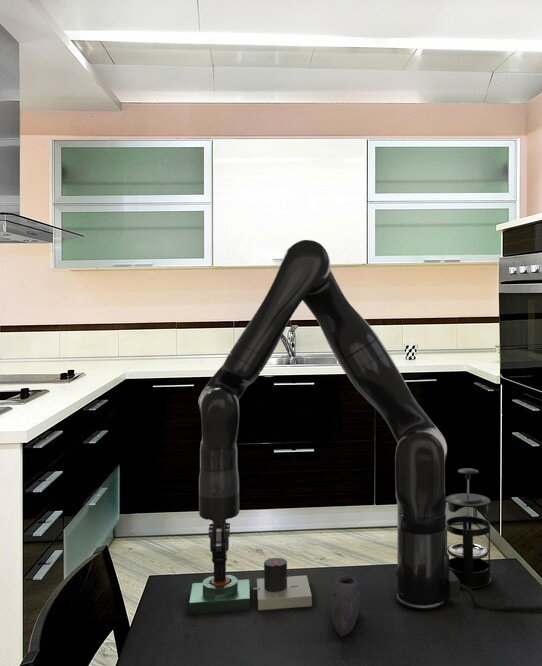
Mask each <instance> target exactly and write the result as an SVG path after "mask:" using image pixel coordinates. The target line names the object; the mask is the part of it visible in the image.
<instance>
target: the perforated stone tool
mask: <svg viewBox="0 0 542 666" xmlns="http://www.w3.org/2000/svg"><path fill="white" fill-rule="evenodd" d="M359 587H360V583H359V580H358V577H357V576H356V574H355V573H354V572H351V571H346V570H345V571H341V572H339V574H338V575H337V577H336V579H335V581H334V584H333V587H332V591H331V595H330V616H331V621H332V624H333V627H334V629H335V631H336V633H337V634H338V635H339V636H340V637H345V636H347V635H348V634H350V632H351V631H352V630H353V629H354V626H355V624H356V622H357V619H358V616H359V611H360V602H361V593H360V591H359V589H360V588H359Z"/></svg>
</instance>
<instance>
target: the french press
mask: <svg viewBox="0 0 542 666" xmlns="http://www.w3.org/2000/svg"><path fill="white" fill-rule="evenodd" d="M457 473H459V474H462V475H465V480H466V493H465V492H464V493H463V492H462V493H454V494H453V493H452V494H450V495H448V496H445V498H446V503H447V510H448V511H449V512H451V513H456V512H458V511H459V510H461V509H464V508H466V514H462V515H459V516H453V517H449V518H446V552H447V553H448V554H449V556H452V557H451V558H449V570H451V571H452V572H453V573H454V574H455V576H456V577H457V578H458V579H459V581H460V584H463V585H465V586H467V587H468V588H470V589H471V590H472V591H474V590H481V589H485V588H487V587H488V586H490V585H491V583H492V578H491V523H490V521H489V520H487V519H486V518H483V517H478V516H472V515H471V514H470V508H473V509H475V510H476V511H477V512H480V513H481V514H487V513H488V512H489V504H490V503H491V499H490V498H489V497H488V496H485V495H483V494H482V495H481V494H477V493H470V480H471V475H477V474H478V473H479V470H477V469H475V468H469V467H467V468H466V467H465V468H460V469H458V470H457ZM460 523H462V528H459V527H454V526H452V525H453V524H460ZM472 524H477V525H481V526H484V527H483V528H476V529H472ZM448 532H449V533H451V534H453V535H456V536H461V537H462V542H455V543H452V544H450V545H448ZM485 535H488V539H487V540H488V541H487V542H488V543H487V545H488V548H487V546H484V545H483V544H479V543H474V537H481V536H485ZM487 556H488V557H487ZM486 557H487V559H488V561H487V560H485V559H484V558H486ZM460 590H463V589H462V588H460Z"/></svg>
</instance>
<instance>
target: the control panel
mask: <svg viewBox="0 0 542 666" xmlns="http://www.w3.org/2000/svg"><path fill="white" fill-rule="evenodd" d="M252 589H253V590H254V591H255V590H256V596H257V610H258V611H267V610H278V609H280V610H281V609H291V608H306V607H313V595H312V591H311V588H310V584H309V580H308V575H305V574H304V575H293V576H291V575H290V576H287V588H286V589H285V590H283V591H279V592H270V591H267V590H265V589H264V577H263V578H261V577H260V578H256V587H253V588H252Z"/></svg>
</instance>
